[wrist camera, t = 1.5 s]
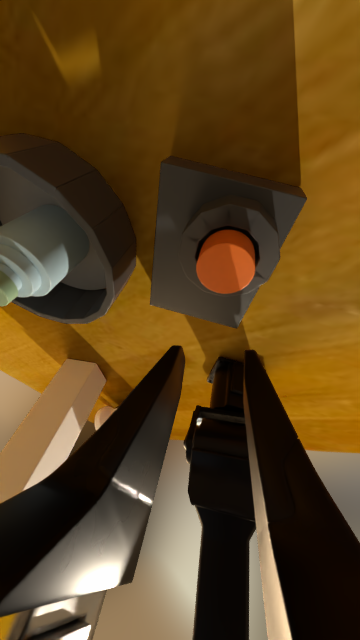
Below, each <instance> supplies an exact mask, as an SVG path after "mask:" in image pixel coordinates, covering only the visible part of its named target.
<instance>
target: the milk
mask: <svg viewBox="0 0 360 640" xmlns="http://www.w3.org/2000/svg"><path fill="white" fill-rule="evenodd" d="M105 383H106V379H105V377H104V376H103V374H102V372H101V371H100V369H99V367H98V365H97V364H96V363H92V362H86V361H80V360H73V359H66V361H65V362H64V363H63V365H62V366H61V368H60V369H59V370H58V372H57V373H56V375H55V376H54V378H53V379H52V380H51V382H50V383H49V385H48V386H47V388H46V389H45V390H44V392H43V393H42V395H41V396H40V397H39V399H38V400H37V402H36V403H35V405H34V406H33V408H32V409H31V410H30V412H29V413H28V415H27V416H26V417H25V419H24V420H23V422H22V423H21V424H20V426H19V427H18V429H17V430H16V432H15V433H14V434H13V436H12V437H11V439H10V440H9V441H8V443H7V444H6V446H5V447H4V449H3V450H2V451H1V453H0V503H2V502H4V501H6V500H8V499H9V498H11V497H13V496H15V495H17V494H19V493H20V492H22V491H24V490H26V489H28V488H30V487H32V486H33V485H35V484H37V483H39V482H40V481H42V480H43V479H45V478H46V477H47V476H49V475H50V474H51V473H52V472H54V471H55V470H56V469H57V468H58V467H59V466H60V465H61V464H62V463H64V462H65V461H66V460H67V458H68V456H69V454H70V452H71V450H72V448H73V446H74V444H75V442H76V440H77V438H78V436H79V434H80V432H81V430H82V428H83V426H84V424H85V422H86V420H87V418H88V416H89V414H90V412H91V410H92V408H93V406H94V404H95V402H96V400H97V399H98V397H99V395H100V393H101V391H102V389H103V387H104V385H105Z"/></svg>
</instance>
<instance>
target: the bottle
mask: <svg viewBox="0 0 360 640" xmlns="http://www.w3.org/2000/svg"><path fill="white" fill-rule="evenodd" d="M88 252H89V240H88V237H87V234H86V232H85V231H84V230H83V229H82V228H81V227H80V226H79V225H78V224H77V222H76V221H75V220H74V219H73V218H72V217H71V216H70V215H69V214H68V213H67V211H66V210H64V209H63V208H60V207H58V206H55V205H42V206H40V207H38V208H36V209H34V210H32V211H30V212H28V213H26V214H24V215H22V216H20V217H18V218H16V219H14V220H12V221H10V222H8V223H6V224H4V225H2V226H0V306H6V305H8V304H9V303H10V302H11V301H12V300H13V299H15V298H16V297H29V296H44V295H46V294H48V293H49V292H50V291H51V290H52V289H53V288H54V287H55V286H56V285H57V284H58V283H59V282H60V281H61V280H62V279H63V278H64V277H65V276H66V275H67V274H68V273H70V272H71V271H72V270H73V269H74V268H75V267H76V266H77V265H78V264H79V263H80V262H81V261H82V260H83V259H84V258H85V257H86V256H87V254H88Z"/></svg>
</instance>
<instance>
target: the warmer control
mask: <svg viewBox="0 0 360 640" xmlns="http://www.w3.org/2000/svg"><path fill="white" fill-rule="evenodd" d="M306 200H307V197H306V195H305V194H304V192H303V190H302V189H301V188H299V187H295V186H291V185H287V184H283V183H279V182H275V181H271V180H267V179H263V178H259V177H255V176H251V175H247V174H243V173H238V172H234V171H230V170H226V169H222V168H218V167H214V166H210V165H206V164H202V163H198V162H194V161H190V160H186V159H182V158H178V157H174V156H169V157H168V158H166V159H165V160H163V161H162V162H161V169H160V181H159V194H158V207H157V220H156V233H155V246H154V259H153V272H152V285H151V298H150V305H153V306H157V307H160V308H164V309H168V310H171V311H175V312H179V313H182V314H186V315H190V316H193V317H197V318H200V319H204V320H208V321H211V322H215V323H219V324H222V325H226V326H229V327H233V328H237V327H238V326H239V324H240V322H241V320H242V318H243V316H244V314H245V313H246V311H247V309H248V307H249V305H250V303H251V302H252V300H253V298H254V296H255V294H256V292H257V290H258V289H259V287H260V285H262V284H263V283H265V282H267V281H268V279H269V278H270V276H271V274H272V272H273V270H274V269H275V267H276V265H277V263H278V262H279V260H280V248H281V246H282V244H283V242H284V241H285V239H286V237H287V235H288V233H289V231H290V230H291V228H292V226H293V224H294V222H295V220H296V218H297V217H298V215H299V213H300V211H301V209H302V207H303V206H304V204H305V202H306ZM228 229H229V230H236V231H239V232H241V233H243V234H245V235H246V236H247V237H248V238H249V239H250V240H251V242H252V243H253V246H254V250H255V273H254V276H253V278H252V280H251V282H250V283H249V284H248V285H247V286H246V287H244V288H243V289H241V290H239V291H237V292H234V293H228V294H223V293H217V292H214V291H211V290H209V289H208V288H206V287H205V286H204V285H203V284H202V283H201V282H200V280H199V278H198V276H197V272H196V264H197V261H198V257H199V254H200V251H201V248H202V245H203V243H204V242H205V240H206V239H207V238H208V237H209V236H210V235H212V234H213V233H215V232H218V231H221V230H228Z"/></svg>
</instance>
